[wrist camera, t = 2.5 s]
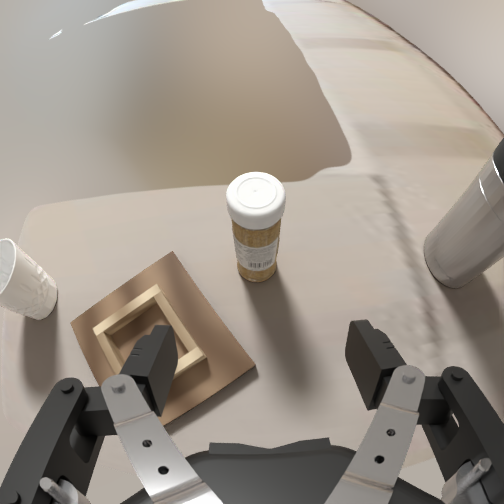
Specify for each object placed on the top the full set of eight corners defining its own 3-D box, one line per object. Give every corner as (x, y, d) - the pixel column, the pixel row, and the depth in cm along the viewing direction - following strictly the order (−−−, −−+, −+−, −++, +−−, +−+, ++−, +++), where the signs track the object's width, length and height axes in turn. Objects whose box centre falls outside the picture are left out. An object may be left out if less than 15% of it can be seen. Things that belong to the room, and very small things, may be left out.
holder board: (175, 255, 34) (168, 242, 31) (255, 365, 28) (255, 362, 25) (75, 325, 30) (61, 318, 27) (137, 440, 24) (125, 445, 21)
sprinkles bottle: (277, 250, 34) (288, 172, 22) (274, 286, 32) (284, 219, 20) (239, 245, 34) (231, 167, 22) (233, 281, 32) (220, 213, 20)
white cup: (48, 261, 34) (8, 226, 25) (69, 298, 31) (22, 266, 22) (18, 296, 31) (-26, 269, 22) (36, 335, 29) (-14, 313, 20)
